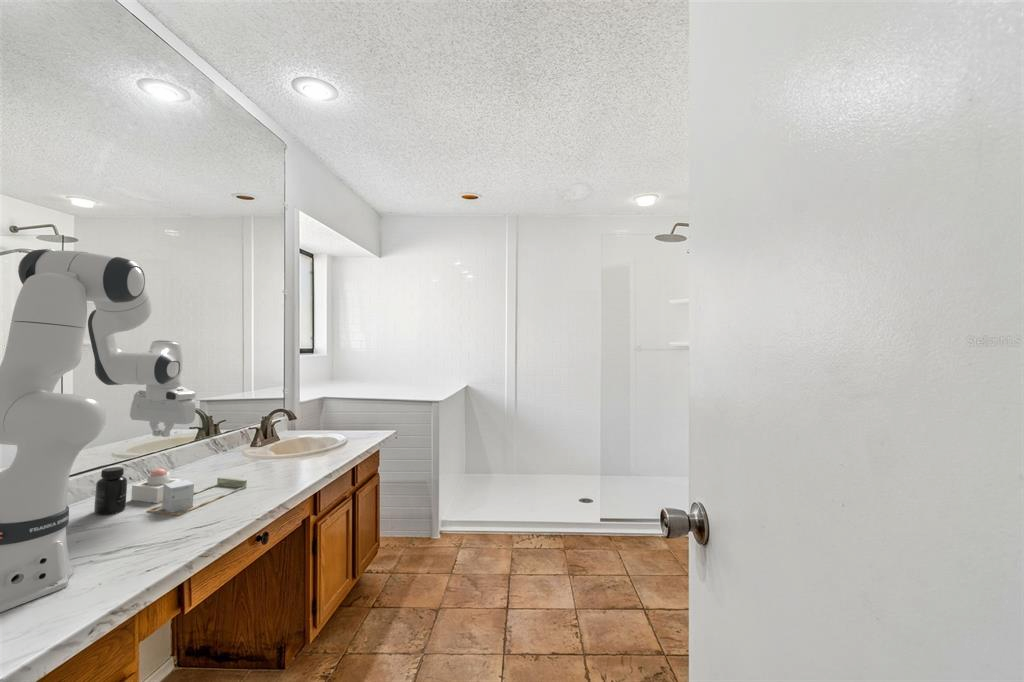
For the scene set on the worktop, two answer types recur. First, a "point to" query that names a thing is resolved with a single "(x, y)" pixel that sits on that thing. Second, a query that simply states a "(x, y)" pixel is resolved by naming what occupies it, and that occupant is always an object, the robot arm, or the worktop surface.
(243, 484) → the track
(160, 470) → the white pink rounded piece
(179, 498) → the product box
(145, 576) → the worktop surface
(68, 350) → the robot arm
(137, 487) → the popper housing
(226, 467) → the worktop surface
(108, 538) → the worktop surface
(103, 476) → the supplement bottle
